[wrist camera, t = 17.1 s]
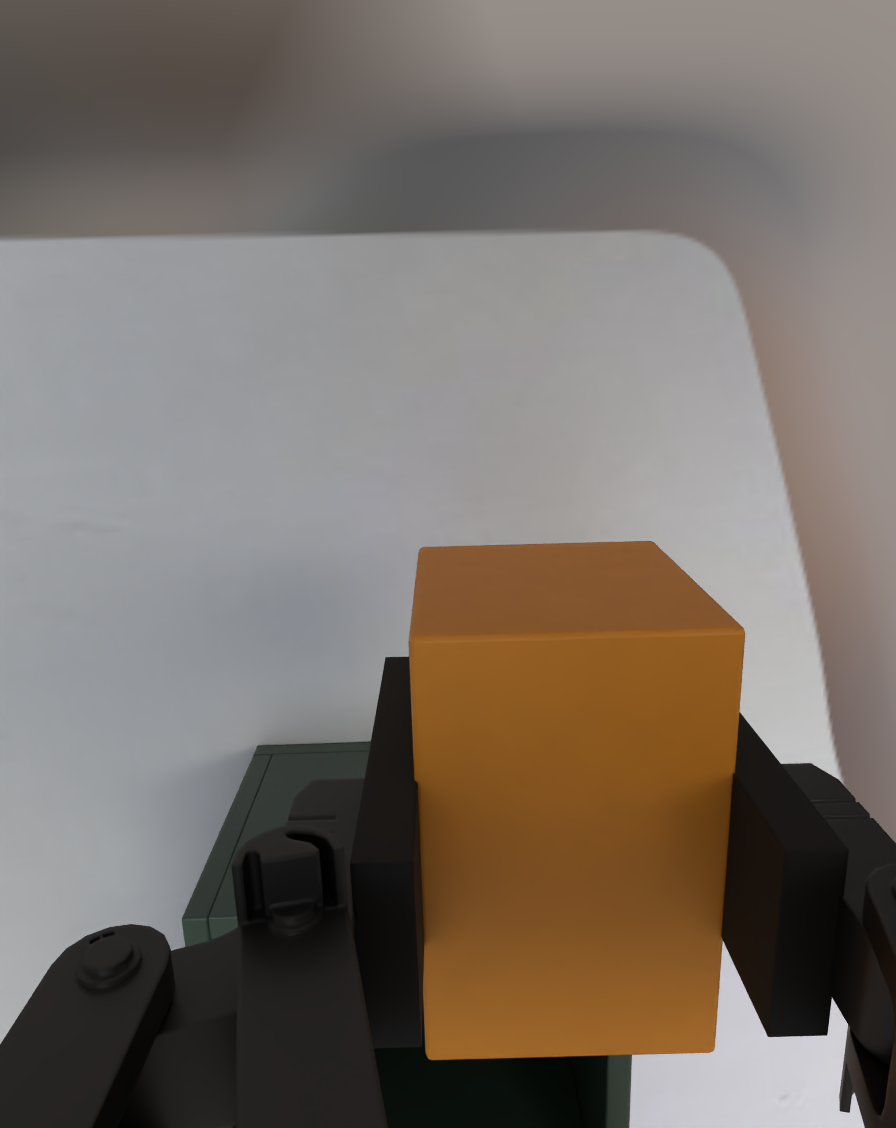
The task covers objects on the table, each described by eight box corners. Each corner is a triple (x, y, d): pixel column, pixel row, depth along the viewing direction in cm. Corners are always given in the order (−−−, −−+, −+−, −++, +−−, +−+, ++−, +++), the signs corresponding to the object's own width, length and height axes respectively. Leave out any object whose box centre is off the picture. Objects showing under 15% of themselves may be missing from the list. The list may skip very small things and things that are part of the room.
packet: (418, 546, 16) (407, 637, 11) (653, 539, 16) (748, 629, 11) (430, 864, 18) (425, 1063, 13) (641, 858, 18) (716, 1055, 13)
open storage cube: (257, 745, 35) (180, 918, 24) (577, 734, 35) (638, 902, 24) (283, 1009, 38) (226, 1259, 28) (574, 999, 38) (625, 1243, 28)
